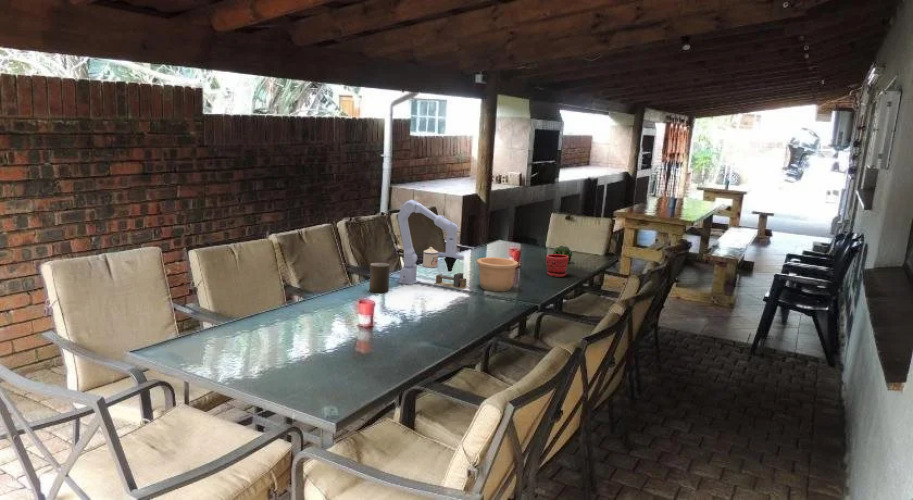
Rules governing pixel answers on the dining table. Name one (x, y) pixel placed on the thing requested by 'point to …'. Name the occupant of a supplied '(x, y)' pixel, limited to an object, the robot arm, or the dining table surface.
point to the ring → (457, 279)
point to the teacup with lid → (430, 258)
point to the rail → (439, 282)
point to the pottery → (496, 273)
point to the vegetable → (563, 251)
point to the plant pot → (557, 265)
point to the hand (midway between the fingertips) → (449, 271)
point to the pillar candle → (379, 277)
